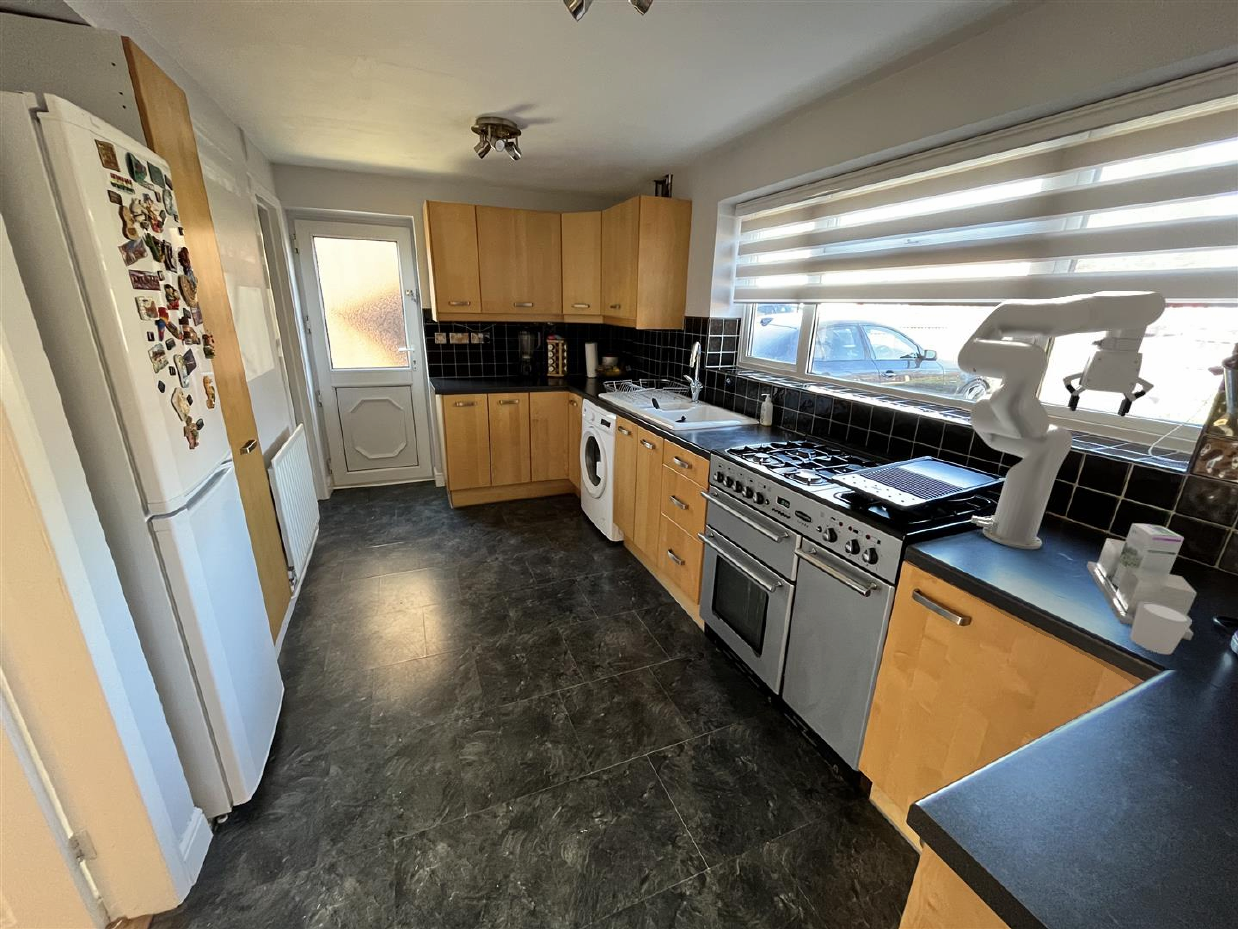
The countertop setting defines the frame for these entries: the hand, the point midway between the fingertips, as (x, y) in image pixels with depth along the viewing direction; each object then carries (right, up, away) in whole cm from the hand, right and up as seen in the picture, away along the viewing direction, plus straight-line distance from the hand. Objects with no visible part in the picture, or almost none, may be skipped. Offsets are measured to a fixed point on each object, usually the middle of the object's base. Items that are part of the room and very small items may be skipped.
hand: (1096, 412), depth 130 cm
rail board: (-14, -42, -23) cm, 50 cm away
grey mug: (-26, -47, -38) cm, 65 cm away
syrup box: (-14, -41, -23) cm, 49 cm away
